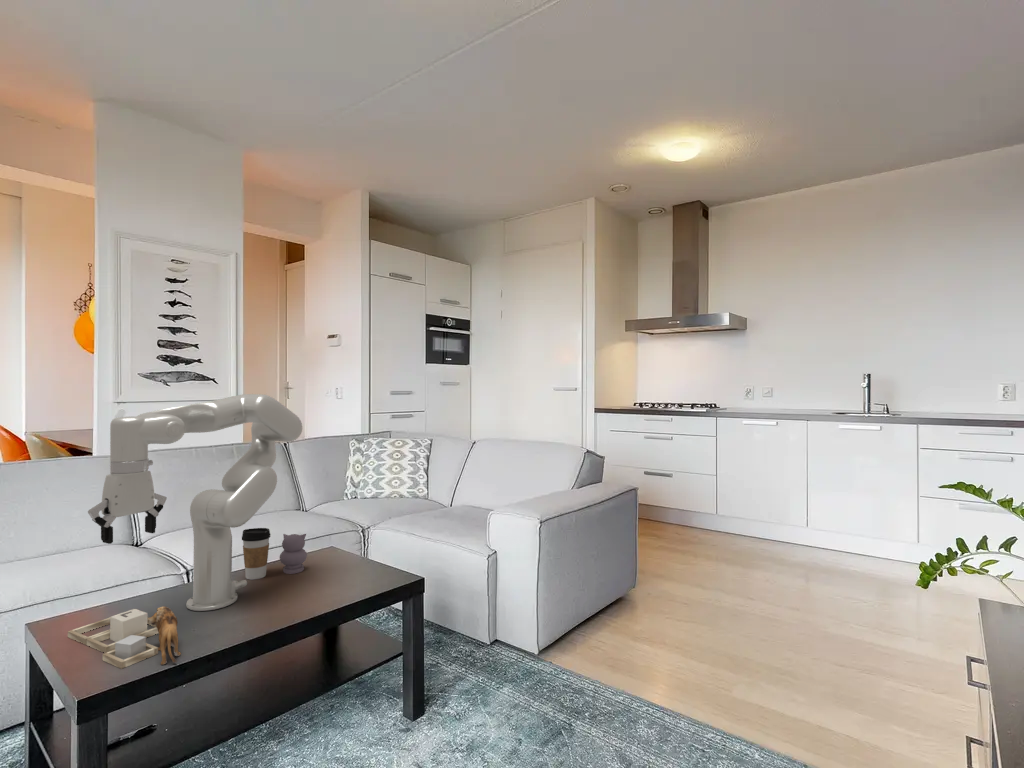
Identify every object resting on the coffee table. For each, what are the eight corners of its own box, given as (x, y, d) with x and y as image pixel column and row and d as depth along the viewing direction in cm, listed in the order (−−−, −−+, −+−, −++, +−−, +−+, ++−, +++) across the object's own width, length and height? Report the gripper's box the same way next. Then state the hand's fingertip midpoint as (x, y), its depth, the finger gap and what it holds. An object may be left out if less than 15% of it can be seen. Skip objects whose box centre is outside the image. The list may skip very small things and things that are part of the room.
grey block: (130, 652, 126) (131, 634, 126) (145, 654, 125) (145, 636, 125) (115, 661, 122) (115, 642, 122) (130, 663, 121) (130, 644, 121)
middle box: (149, 622, 141) (149, 617, 141) (168, 629, 137) (168, 624, 137) (86, 645, 129) (86, 639, 129) (105, 653, 125) (105, 647, 125)
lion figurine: (146, 646, 129) (147, 607, 129) (172, 638, 132) (173, 601, 132) (163, 669, 118) (163, 627, 118) (190, 660, 122) (191, 620, 122)
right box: (130, 615, 145) (130, 610, 145) (148, 622, 141) (148, 617, 141) (67, 637, 133) (67, 631, 133) (85, 644, 129) (85, 638, 129)
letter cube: (134, 630, 137) (134, 608, 137) (147, 635, 134) (147, 612, 134) (110, 639, 132) (110, 616, 132) (122, 644, 129) (122, 621, 129)
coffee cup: (237, 576, 176) (237, 529, 176) (264, 570, 182) (264, 524, 182) (246, 583, 170) (247, 534, 170) (274, 576, 176) (274, 529, 176)
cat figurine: (275, 574, 178) (275, 537, 178) (285, 566, 185) (285, 531, 186) (301, 574, 178) (302, 537, 178) (310, 566, 186) (310, 531, 186)
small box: (139, 646, 128) (139, 640, 128) (158, 653, 125) (158, 647, 125) (102, 660, 122) (102, 654, 122) (121, 668, 118) (121, 662, 118)
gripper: (156, 461, 143) (156, 527, 143) (80, 471, 128) (80, 544, 128) (174, 463, 140) (174, 530, 140) (98, 474, 124) (98, 549, 124)
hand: (129, 537), depth 134 cm, fingers open, 9 cm apart
